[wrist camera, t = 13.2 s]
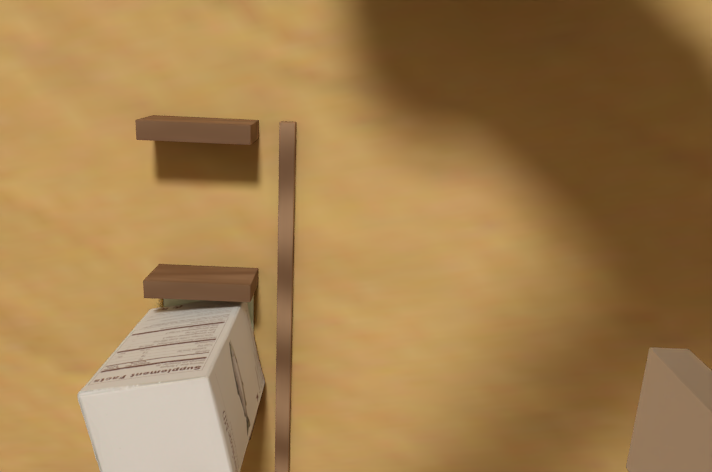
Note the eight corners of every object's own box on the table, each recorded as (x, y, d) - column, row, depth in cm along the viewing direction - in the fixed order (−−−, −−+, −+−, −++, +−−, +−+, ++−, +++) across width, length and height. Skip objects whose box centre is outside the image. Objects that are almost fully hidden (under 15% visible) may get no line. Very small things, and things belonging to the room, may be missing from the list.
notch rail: (153, 115, 42) (135, 120, 38) (296, 121, 42) (291, 127, 38) (169, 524, 50) (156, 558, 47) (288, 528, 50) (283, 562, 47)
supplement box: (267, 383, 47) (238, 496, 34) (170, 396, 47) (106, 513, 35) (249, 290, 45) (210, 376, 32) (147, 305, 45) (70, 395, 33)
